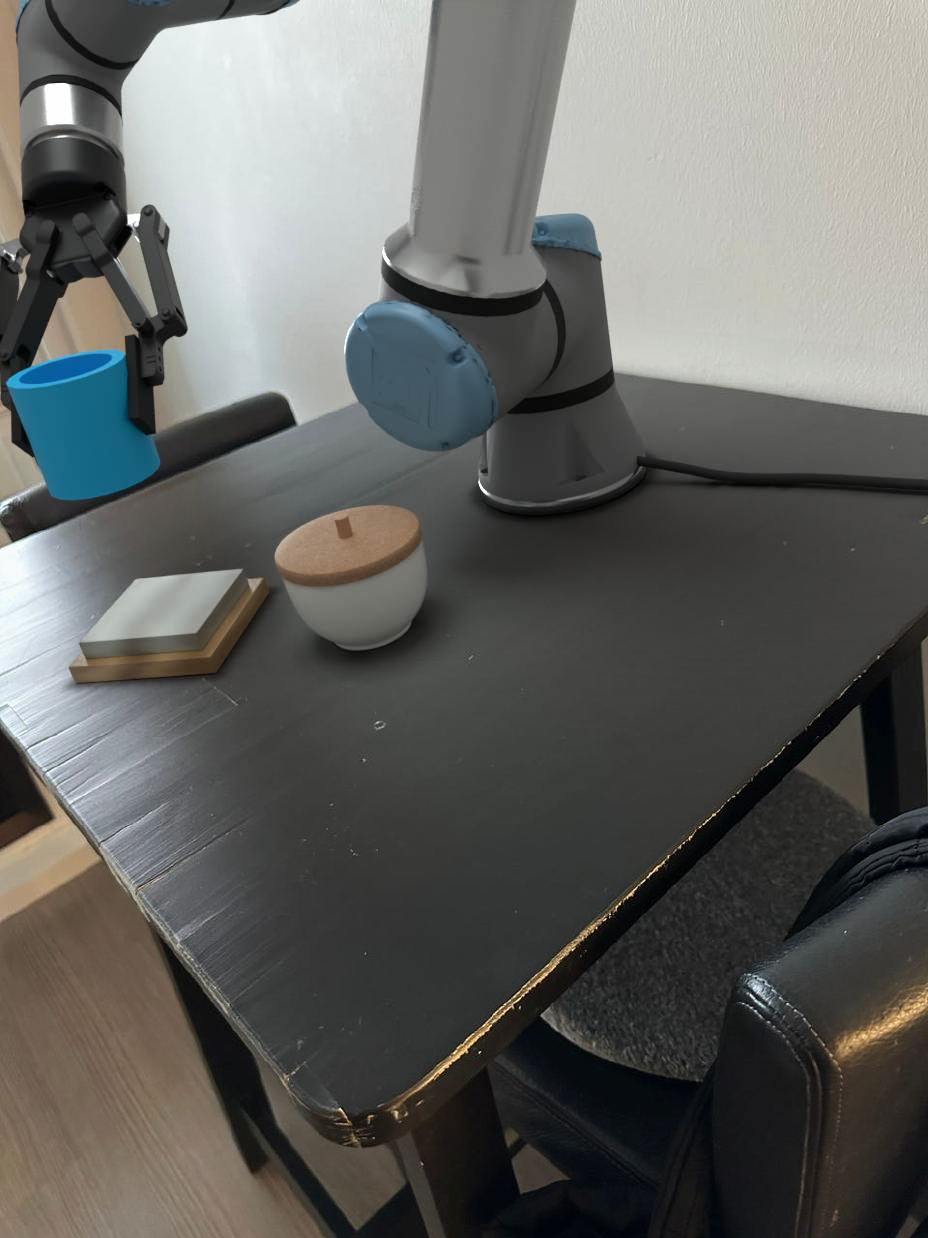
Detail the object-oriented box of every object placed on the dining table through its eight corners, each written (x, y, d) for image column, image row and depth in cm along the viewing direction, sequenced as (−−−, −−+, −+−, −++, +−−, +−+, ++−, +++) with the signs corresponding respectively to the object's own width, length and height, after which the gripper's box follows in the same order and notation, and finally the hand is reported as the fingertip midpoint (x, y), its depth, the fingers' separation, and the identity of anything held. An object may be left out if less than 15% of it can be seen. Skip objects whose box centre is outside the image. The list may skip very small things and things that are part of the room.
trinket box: (274, 647, 78) (237, 537, 73) (375, 582, 84) (347, 476, 79) (368, 683, 71) (333, 564, 66) (471, 609, 77) (445, 495, 72)
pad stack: (269, 592, 86) (259, 561, 85) (216, 673, 76) (203, 639, 75) (142, 604, 89) (130, 574, 88) (75, 683, 79) (60, 651, 78)
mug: (121, 498, 71) (80, 384, 67) (25, 501, 74) (-20, 391, 69) (205, 432, 81) (173, 329, 76) (118, 437, 83) (83, 338, 79)
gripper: (222, 171, 81) (244, 433, 75) (-24, 225, 83) (-21, 483, 77) (183, 101, 74) (204, 385, 68) (-85, 162, 76) (-87, 443, 70)
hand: (84, 437), depth 72 cm, fingers closed on mug, 8 cm apart
